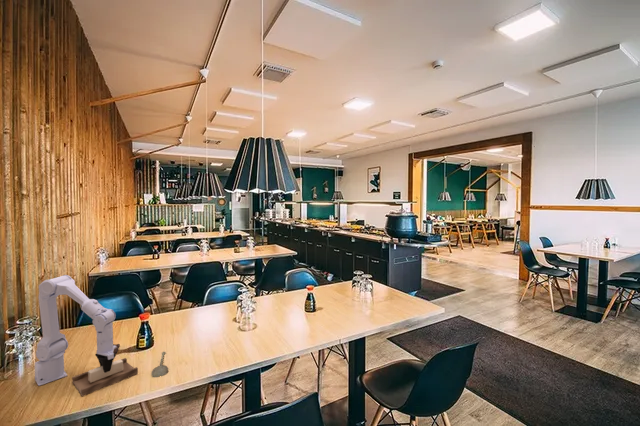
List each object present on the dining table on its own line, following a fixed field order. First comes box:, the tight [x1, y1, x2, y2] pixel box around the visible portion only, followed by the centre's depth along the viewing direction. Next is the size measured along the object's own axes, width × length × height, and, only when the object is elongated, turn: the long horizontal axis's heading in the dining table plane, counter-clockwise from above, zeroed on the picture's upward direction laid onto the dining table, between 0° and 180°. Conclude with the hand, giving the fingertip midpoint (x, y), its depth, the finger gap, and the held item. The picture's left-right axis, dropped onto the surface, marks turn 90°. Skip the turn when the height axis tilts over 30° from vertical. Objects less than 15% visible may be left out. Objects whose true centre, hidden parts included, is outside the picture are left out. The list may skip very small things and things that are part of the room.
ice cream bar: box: [113, 343, 121, 355], centre depth 153 cm, size 5×2×15 cm
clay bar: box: [87, 358, 123, 383], centre depth 131 cm, size 12×3×4 cm, turn 141°
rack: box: [71, 357, 139, 397], centre depth 131 cm, size 20×14×3 cm
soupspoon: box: [151, 351, 169, 378], centre depth 142 cm, size 22×3×7 cm
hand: (105, 370), depth 131 cm, fingers closed on clay bar, 3 cm apart
